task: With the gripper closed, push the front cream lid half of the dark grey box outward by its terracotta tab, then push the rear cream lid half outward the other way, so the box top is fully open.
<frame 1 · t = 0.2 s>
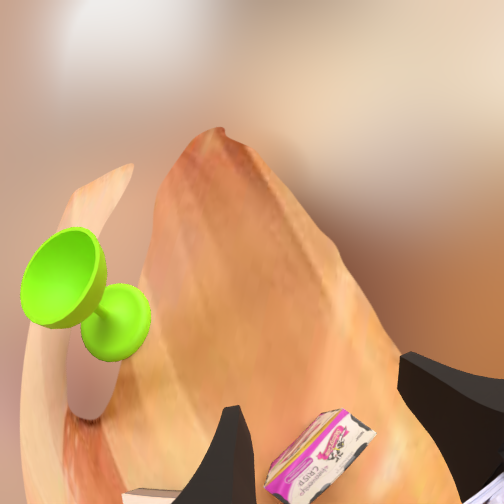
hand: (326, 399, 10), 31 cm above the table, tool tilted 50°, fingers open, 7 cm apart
candy bar box: (307, 447, 33), on the table
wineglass: (114, 321, 47), on the table
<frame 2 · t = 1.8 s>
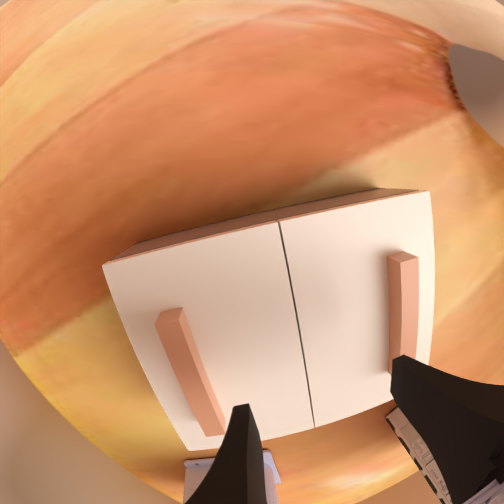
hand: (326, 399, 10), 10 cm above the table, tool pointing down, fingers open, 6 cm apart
candy bar box: (417, 413, 26), on the table
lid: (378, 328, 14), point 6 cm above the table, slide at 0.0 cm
box: (282, 306, 21), on the table
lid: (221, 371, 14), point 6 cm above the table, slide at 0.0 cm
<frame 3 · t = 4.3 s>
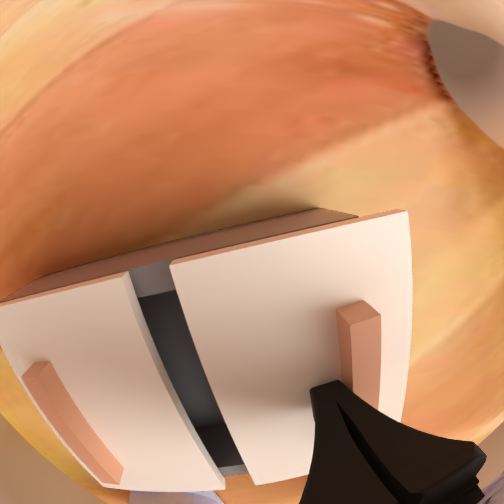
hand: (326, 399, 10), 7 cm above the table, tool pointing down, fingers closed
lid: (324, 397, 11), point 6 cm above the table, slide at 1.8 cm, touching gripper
box: (194, 352, 17), on the table
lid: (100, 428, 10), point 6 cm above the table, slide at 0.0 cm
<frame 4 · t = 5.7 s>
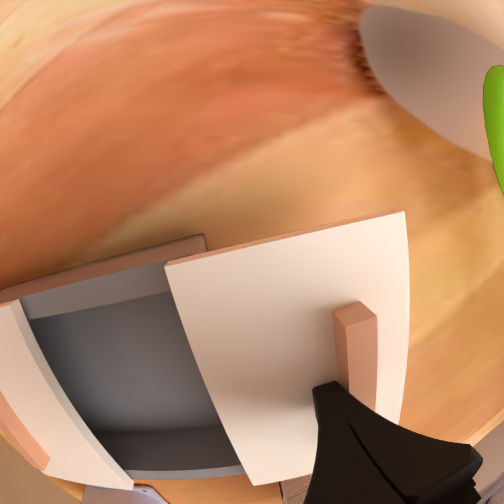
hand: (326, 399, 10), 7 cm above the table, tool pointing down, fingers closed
candy bar box: (329, 476, 22), on the table
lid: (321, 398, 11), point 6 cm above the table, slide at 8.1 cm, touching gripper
box: (107, 365, 16), on the table
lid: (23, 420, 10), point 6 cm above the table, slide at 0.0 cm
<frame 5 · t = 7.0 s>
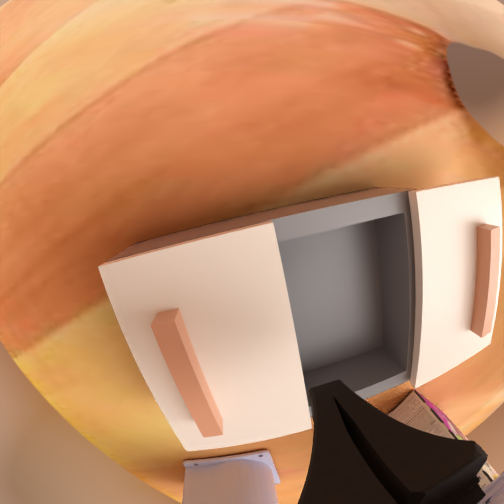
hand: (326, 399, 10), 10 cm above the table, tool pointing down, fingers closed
candy bar box: (416, 413, 26), on the table
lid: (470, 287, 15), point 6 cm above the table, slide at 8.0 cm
box: (280, 306, 21), on the table
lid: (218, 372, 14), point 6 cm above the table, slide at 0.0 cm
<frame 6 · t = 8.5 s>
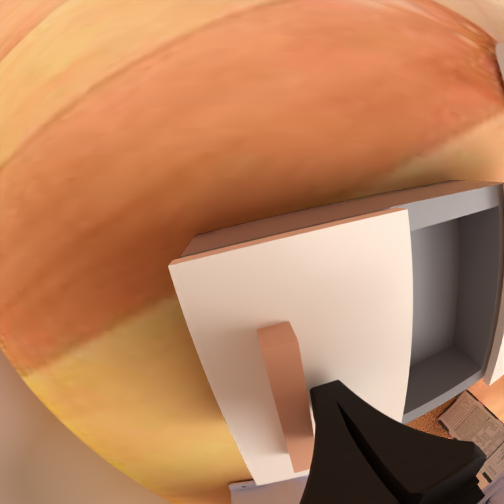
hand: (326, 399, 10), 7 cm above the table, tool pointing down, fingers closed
candy bar box: (462, 412, 22), on the table
box: (364, 308, 17), on the table
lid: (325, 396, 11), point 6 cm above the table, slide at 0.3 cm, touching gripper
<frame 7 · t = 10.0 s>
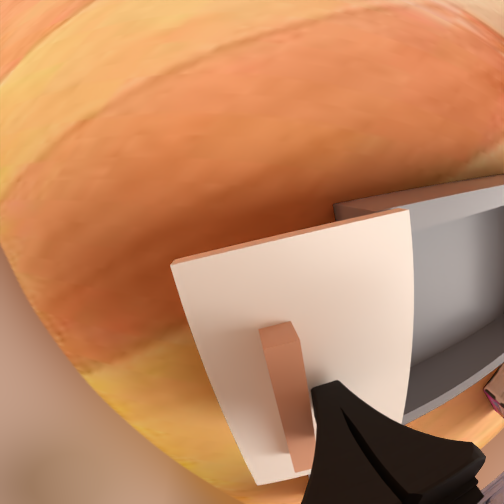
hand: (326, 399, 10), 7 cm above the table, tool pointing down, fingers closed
candy bar box: (499, 385, 23), on the table
box: (449, 277, 17), on the table
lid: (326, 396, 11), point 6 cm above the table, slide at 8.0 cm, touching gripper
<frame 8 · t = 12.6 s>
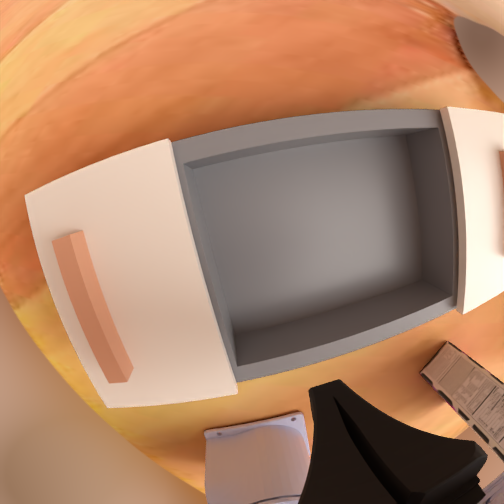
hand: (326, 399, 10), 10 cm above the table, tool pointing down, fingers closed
candy bar box: (448, 372, 25), on the table
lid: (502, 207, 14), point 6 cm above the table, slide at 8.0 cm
box: (323, 228, 20), on the table
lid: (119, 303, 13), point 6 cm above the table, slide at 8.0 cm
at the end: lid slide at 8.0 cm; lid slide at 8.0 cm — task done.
